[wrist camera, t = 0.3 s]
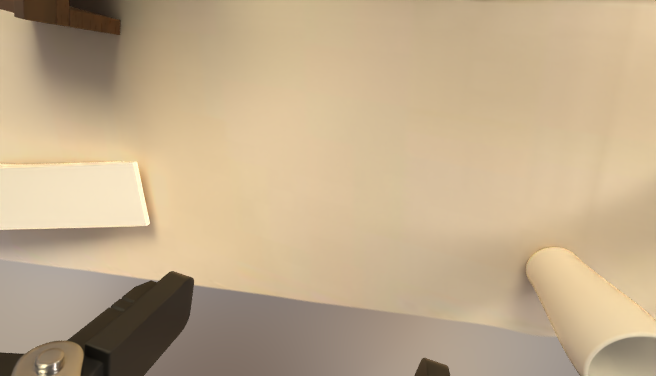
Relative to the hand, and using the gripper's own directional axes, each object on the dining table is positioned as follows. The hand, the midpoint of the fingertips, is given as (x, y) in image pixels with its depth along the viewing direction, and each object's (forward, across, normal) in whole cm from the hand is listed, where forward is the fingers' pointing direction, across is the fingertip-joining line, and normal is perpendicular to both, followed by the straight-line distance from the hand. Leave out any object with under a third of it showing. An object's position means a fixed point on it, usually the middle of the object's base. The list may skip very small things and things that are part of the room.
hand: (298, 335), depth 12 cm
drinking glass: (+29, -23, +6) cm, 37 cm away
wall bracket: (+29, +40, +16) cm, 52 cm away
